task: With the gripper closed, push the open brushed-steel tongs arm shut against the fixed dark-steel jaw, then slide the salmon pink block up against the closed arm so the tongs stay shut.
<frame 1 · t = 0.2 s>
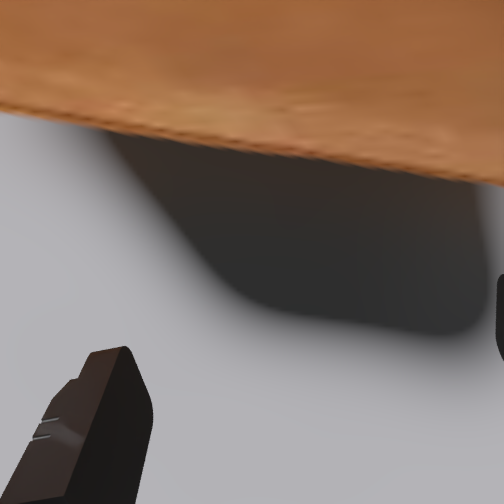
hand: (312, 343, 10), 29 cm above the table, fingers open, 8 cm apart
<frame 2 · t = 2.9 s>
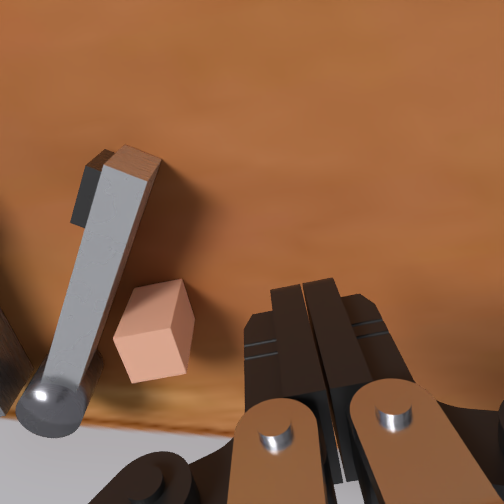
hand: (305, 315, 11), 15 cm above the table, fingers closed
tongs arm: (90, 301, 25), point 2 cm above the table, hinge at 35.0°
salmon pink block: (158, 327, 25), point 2 cm above the table, slide at 0.0 cm
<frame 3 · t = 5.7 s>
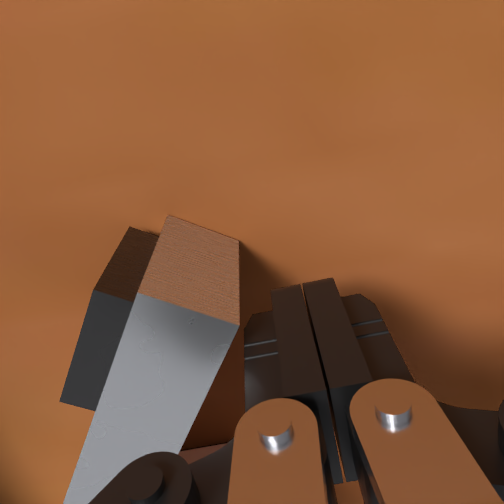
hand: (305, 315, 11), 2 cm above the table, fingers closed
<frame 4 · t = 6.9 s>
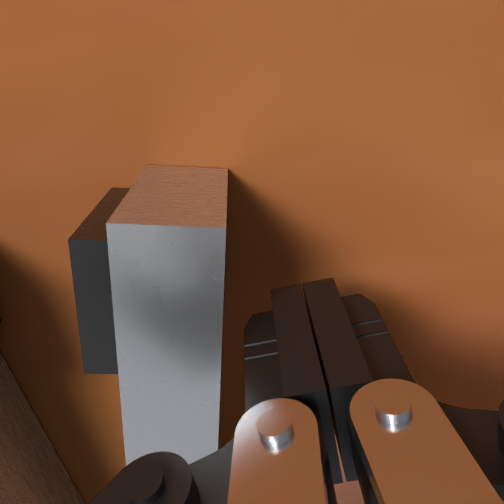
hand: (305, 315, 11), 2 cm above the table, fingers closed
tongs arm: (180, 482, 13), point 2 cm above the table, hinge at 15.3°, touching gripper
tongs jaw: (9, 426, 14), on the table
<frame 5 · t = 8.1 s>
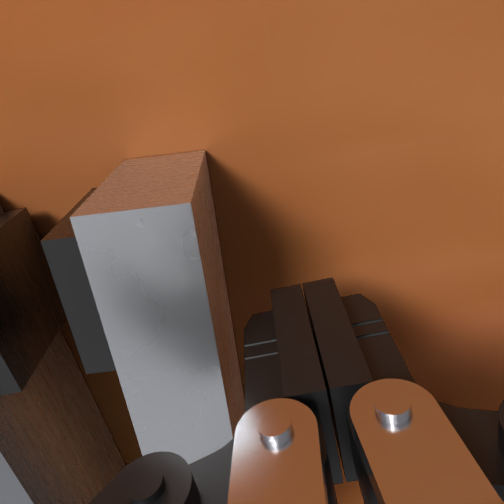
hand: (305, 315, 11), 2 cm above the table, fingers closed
tongs arm: (211, 473, 12), point 2 cm above the table, hinge at 5.7°, touching gripper
tongs jaw: (70, 416, 14), on the table
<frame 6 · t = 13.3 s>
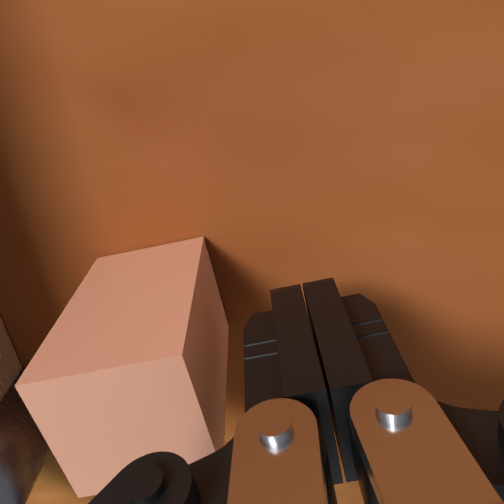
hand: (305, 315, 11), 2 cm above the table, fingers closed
salmon pink block: (149, 348, 11), point 3 cm above the table, slide at 0.8 cm, touching gripper
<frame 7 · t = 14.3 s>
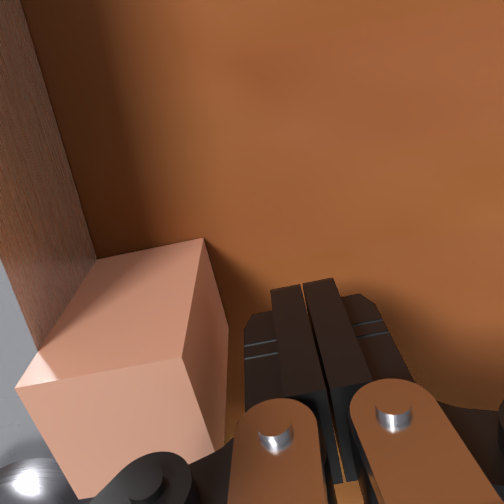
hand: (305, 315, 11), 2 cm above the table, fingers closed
salmon pink block: (149, 349, 11), point 2 cm above the table, slide at 4.1 cm, touching gripper, tongs arm
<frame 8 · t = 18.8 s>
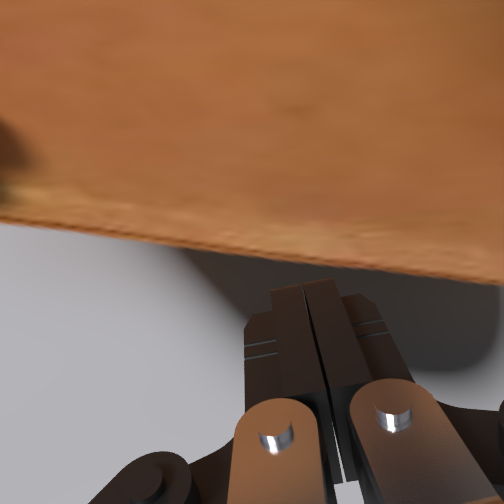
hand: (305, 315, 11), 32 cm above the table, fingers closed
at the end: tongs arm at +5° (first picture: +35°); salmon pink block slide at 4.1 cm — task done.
